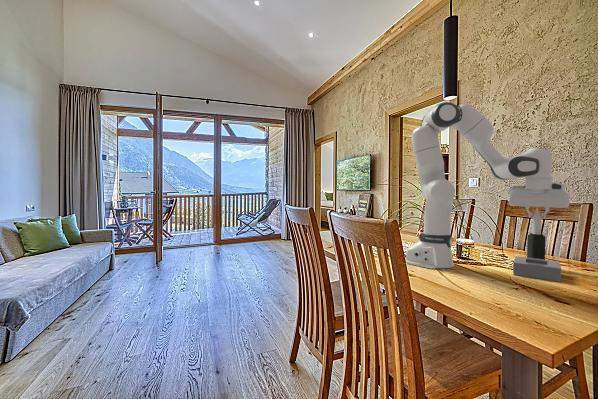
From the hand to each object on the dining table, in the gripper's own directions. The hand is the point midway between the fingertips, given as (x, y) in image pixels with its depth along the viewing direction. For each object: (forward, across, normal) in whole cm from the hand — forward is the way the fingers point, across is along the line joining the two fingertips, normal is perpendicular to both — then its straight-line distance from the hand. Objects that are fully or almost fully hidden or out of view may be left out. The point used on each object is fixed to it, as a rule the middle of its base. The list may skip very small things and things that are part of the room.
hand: (536, 217), depth 124 cm
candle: (+21, 0, 0) cm, 21 cm away
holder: (+22, 0, -14) cm, 26 cm away
